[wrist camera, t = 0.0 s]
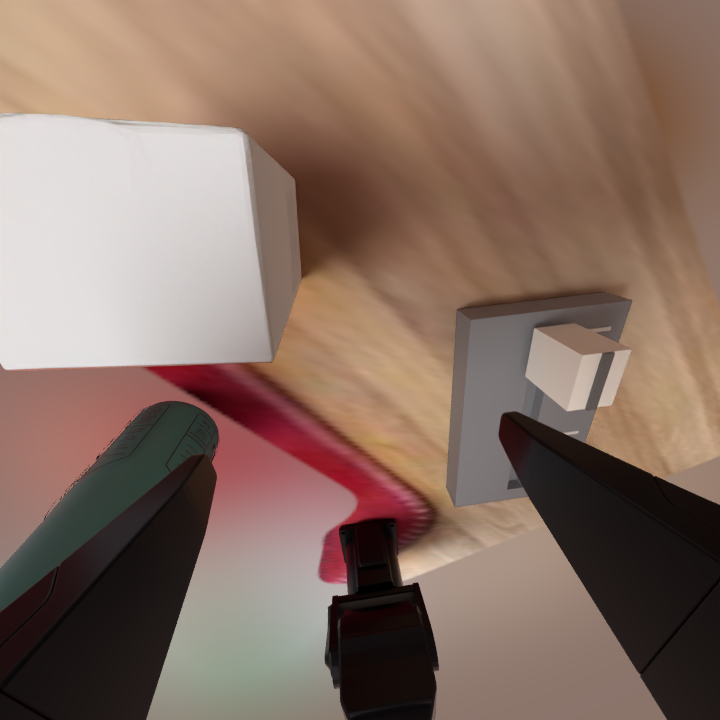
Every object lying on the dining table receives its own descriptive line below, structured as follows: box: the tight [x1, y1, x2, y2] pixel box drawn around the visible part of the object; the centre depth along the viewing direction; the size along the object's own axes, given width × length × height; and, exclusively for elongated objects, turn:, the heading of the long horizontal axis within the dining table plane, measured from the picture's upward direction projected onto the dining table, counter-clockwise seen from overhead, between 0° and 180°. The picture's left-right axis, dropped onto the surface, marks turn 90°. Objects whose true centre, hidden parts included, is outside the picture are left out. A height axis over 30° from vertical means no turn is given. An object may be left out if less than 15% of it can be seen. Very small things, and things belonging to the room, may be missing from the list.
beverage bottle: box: [0, 401, 219, 611], centre depth 16 cm, size 6×7×20 cm
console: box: [446, 292, 632, 507], centre depth 27 cm, size 20×12×3 cm, turn 5°
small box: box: [0, 113, 302, 371], centre depth 13 cm, size 8×6×13 cm
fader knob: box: [525, 323, 632, 411], centre depth 21 cm, size 4×3×6 cm
